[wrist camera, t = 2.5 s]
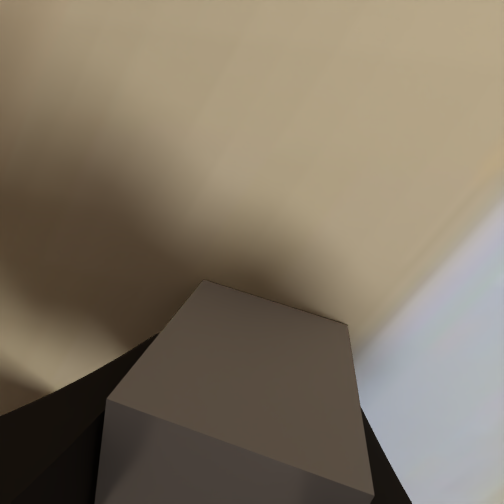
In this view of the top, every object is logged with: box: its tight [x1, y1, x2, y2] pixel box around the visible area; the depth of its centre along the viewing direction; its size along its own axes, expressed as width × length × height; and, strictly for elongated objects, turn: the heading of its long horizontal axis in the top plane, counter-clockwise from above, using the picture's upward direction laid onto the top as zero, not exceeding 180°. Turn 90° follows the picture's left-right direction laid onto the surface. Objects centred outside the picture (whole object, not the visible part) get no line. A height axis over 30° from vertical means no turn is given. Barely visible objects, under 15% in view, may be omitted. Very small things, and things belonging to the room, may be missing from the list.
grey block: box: [95, 280, 375, 504], centre depth 8 cm, size 4×4×5 cm
